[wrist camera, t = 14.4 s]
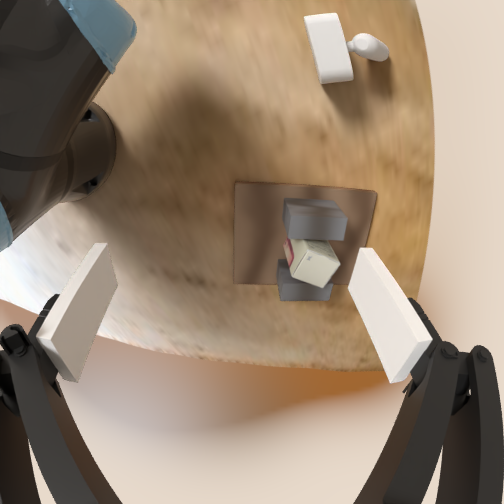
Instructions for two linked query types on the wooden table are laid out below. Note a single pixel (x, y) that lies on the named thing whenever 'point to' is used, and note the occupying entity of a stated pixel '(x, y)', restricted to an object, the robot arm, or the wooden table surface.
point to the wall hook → (338, 48)
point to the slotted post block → (297, 232)
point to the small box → (311, 260)
